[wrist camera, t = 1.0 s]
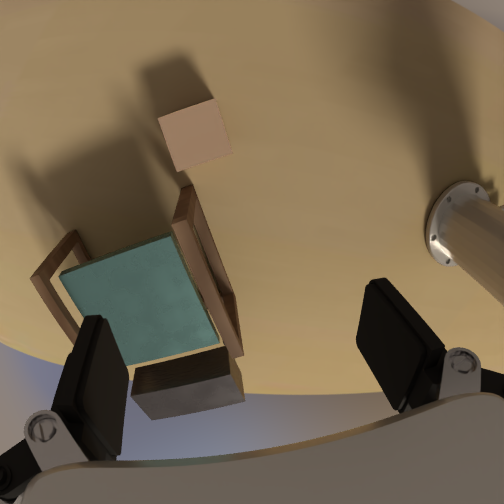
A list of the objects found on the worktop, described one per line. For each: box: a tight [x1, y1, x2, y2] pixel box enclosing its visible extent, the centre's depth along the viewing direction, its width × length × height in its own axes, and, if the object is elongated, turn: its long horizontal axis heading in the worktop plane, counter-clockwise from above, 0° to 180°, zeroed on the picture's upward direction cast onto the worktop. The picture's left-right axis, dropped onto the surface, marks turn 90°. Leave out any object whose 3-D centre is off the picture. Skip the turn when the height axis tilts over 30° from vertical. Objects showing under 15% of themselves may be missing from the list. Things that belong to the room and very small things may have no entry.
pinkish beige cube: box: [158, 99, 233, 172], centre depth 28 cm, size 5×5×5 cm
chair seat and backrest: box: [58, 231, 245, 420], centre depth 31 cm, size 12×20×4 cm, turn 16°
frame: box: [30, 184, 244, 359], centre depth 31 cm, size 16×14×10 cm
